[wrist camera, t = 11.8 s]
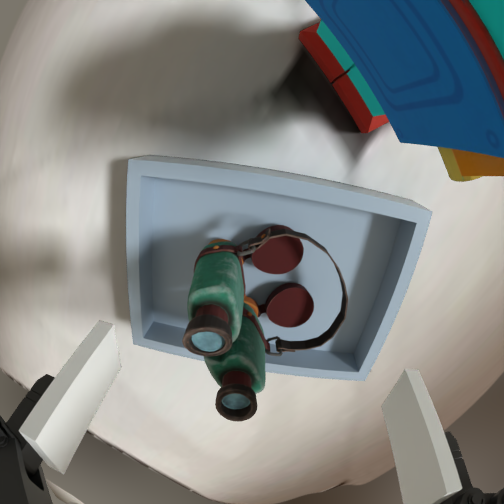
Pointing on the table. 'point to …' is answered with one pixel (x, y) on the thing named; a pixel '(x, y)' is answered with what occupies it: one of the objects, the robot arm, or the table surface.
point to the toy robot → (420, 73)
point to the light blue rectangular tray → (260, 283)
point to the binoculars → (248, 314)
